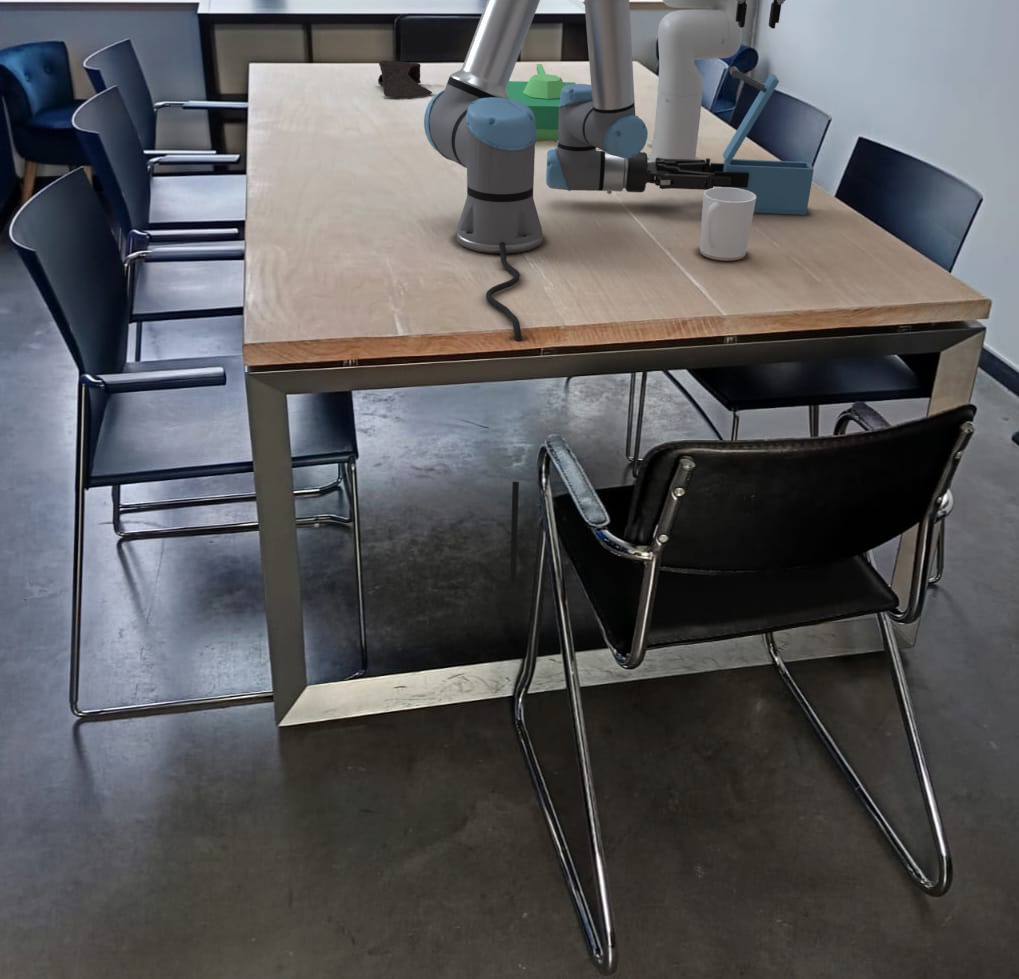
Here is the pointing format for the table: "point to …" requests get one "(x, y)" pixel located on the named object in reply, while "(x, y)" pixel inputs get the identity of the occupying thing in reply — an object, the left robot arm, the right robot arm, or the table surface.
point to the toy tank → (540, 101)
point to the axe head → (401, 79)
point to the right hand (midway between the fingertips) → (756, 25)
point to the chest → (776, 184)
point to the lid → (753, 111)
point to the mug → (726, 222)
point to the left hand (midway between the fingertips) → (745, 175)
